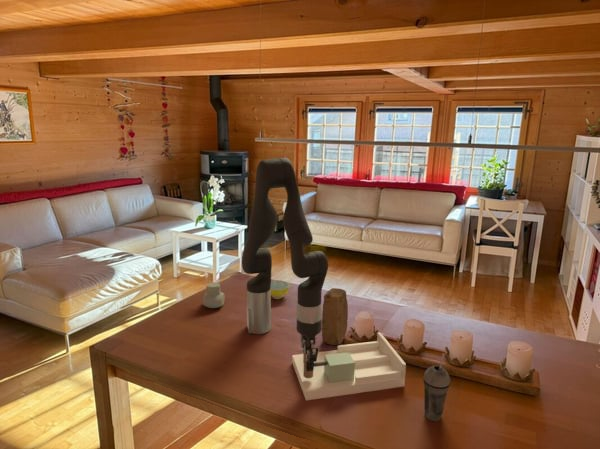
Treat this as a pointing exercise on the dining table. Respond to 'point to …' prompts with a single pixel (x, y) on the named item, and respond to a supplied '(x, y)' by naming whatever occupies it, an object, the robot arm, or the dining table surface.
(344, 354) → the pull block
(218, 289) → the air freshener
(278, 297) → the bowl
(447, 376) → the beverage cup
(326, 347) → the dining table surface
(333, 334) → the brown tall faceted piece
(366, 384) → the shelf
